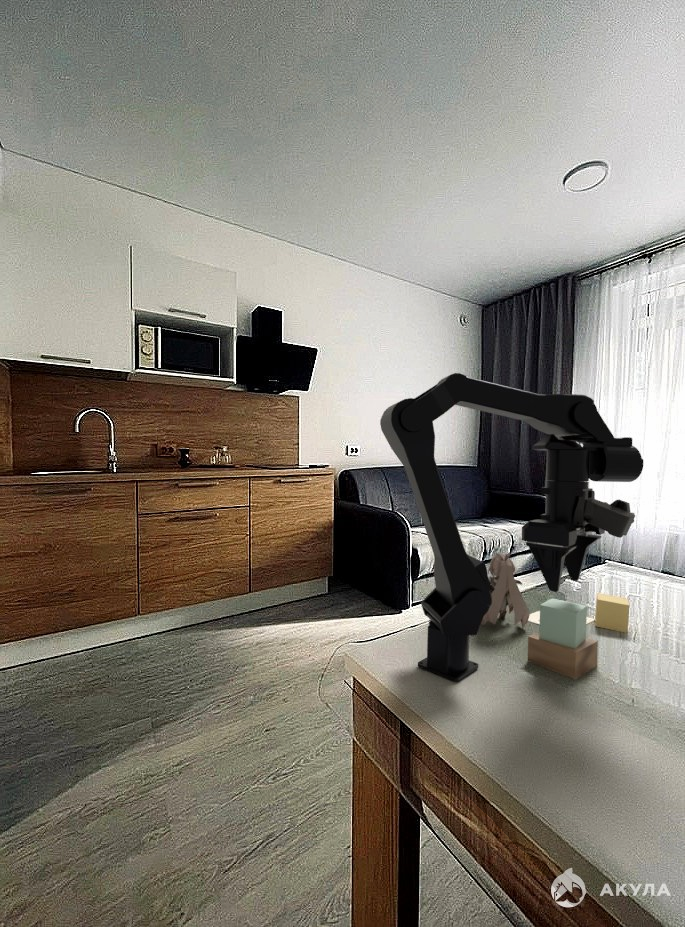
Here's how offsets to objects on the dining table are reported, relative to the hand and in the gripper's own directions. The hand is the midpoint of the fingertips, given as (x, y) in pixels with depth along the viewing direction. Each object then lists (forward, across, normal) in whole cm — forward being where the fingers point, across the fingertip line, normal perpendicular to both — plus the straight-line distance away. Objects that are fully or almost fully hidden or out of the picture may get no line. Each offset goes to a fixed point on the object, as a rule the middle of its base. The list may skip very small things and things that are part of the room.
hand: (564, 585), depth 67 cm
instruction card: (+12, +20, +7) cm, 24 cm away
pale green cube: (+8, 0, 0) cm, 8 cm away
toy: (+12, +9, +14) cm, 20 cm away
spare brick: (+12, +24, -1) cm, 27 cm away
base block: (+12, 0, 0) cm, 12 cm away
